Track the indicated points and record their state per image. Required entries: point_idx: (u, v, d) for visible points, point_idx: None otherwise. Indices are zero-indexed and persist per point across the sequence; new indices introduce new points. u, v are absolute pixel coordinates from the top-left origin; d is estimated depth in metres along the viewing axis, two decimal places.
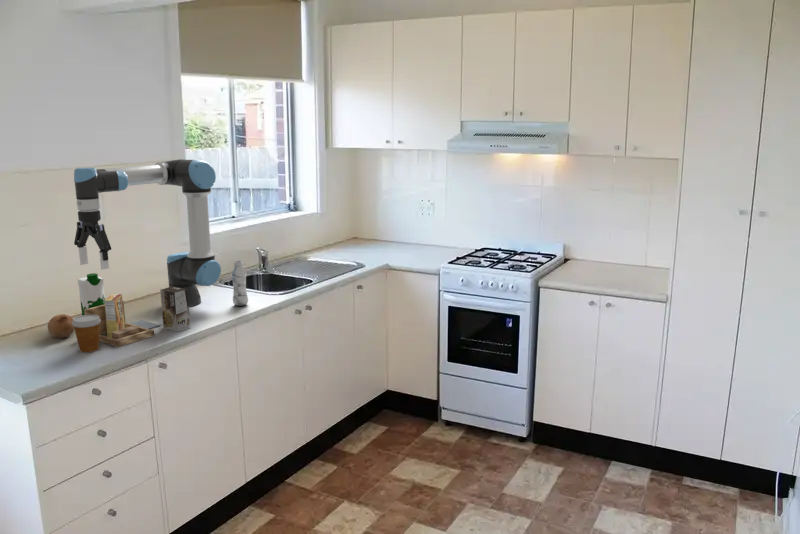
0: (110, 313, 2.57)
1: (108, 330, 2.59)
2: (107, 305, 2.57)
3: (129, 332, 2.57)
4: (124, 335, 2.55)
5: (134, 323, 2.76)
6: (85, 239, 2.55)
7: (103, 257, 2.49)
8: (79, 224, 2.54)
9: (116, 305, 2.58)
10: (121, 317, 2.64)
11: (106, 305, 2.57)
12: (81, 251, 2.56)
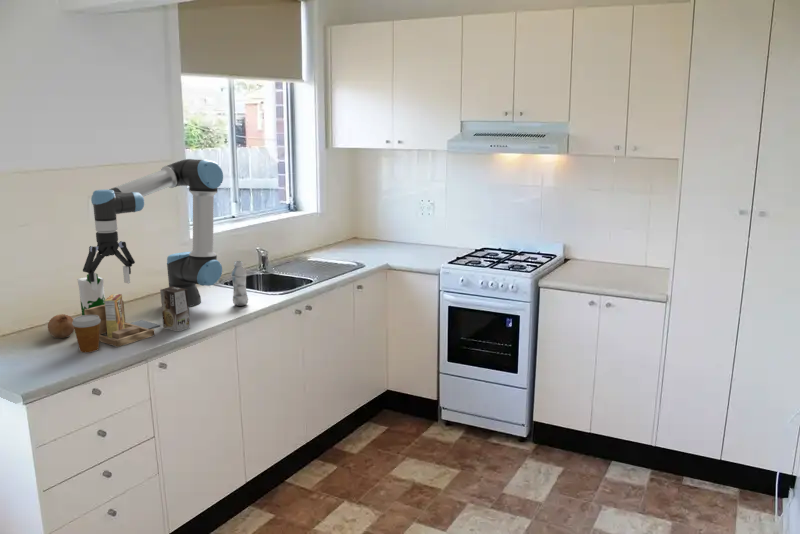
0: (110, 313, 2.57)
1: (108, 330, 2.59)
2: (107, 305, 2.57)
3: (129, 332, 2.57)
4: (124, 335, 2.55)
5: (134, 323, 2.76)
6: (120, 259, 2.61)
7: None
8: None
9: (116, 305, 2.58)
10: (121, 317, 2.64)
11: (106, 305, 2.57)
12: (124, 269, 2.64)
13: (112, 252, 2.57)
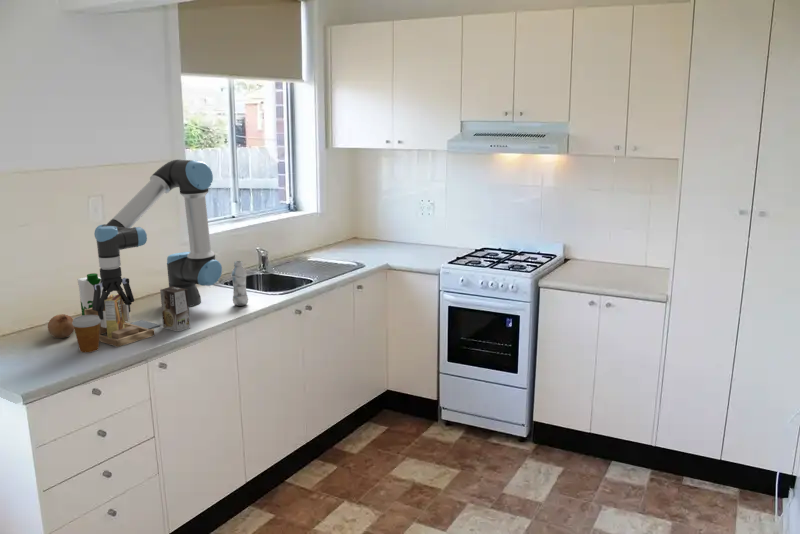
0: (110, 313, 2.57)
1: (108, 330, 2.59)
2: (107, 305, 2.57)
3: (129, 332, 2.57)
4: (124, 335, 2.55)
5: (134, 323, 2.76)
6: (121, 296, 2.63)
7: None
8: None
9: (116, 305, 2.58)
10: (121, 317, 2.64)
11: (106, 305, 2.57)
12: (123, 308, 2.66)
13: (116, 287, 2.60)
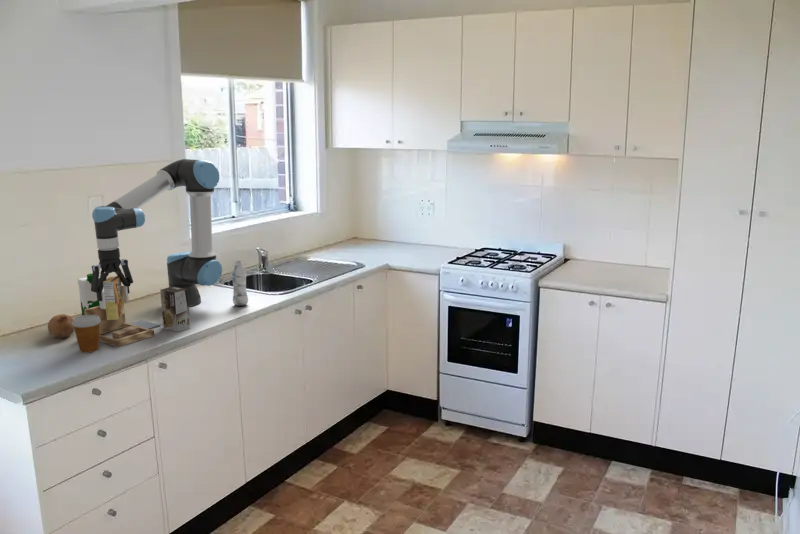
0: (109, 294, 2.56)
1: (107, 312, 2.58)
2: (106, 287, 2.55)
3: (129, 332, 2.57)
4: (125, 335, 2.55)
5: (134, 323, 2.76)
6: (120, 277, 2.62)
7: None
8: None
9: (115, 287, 2.57)
10: (120, 299, 2.62)
11: (105, 286, 2.55)
12: (122, 289, 2.65)
13: (114, 269, 2.58)
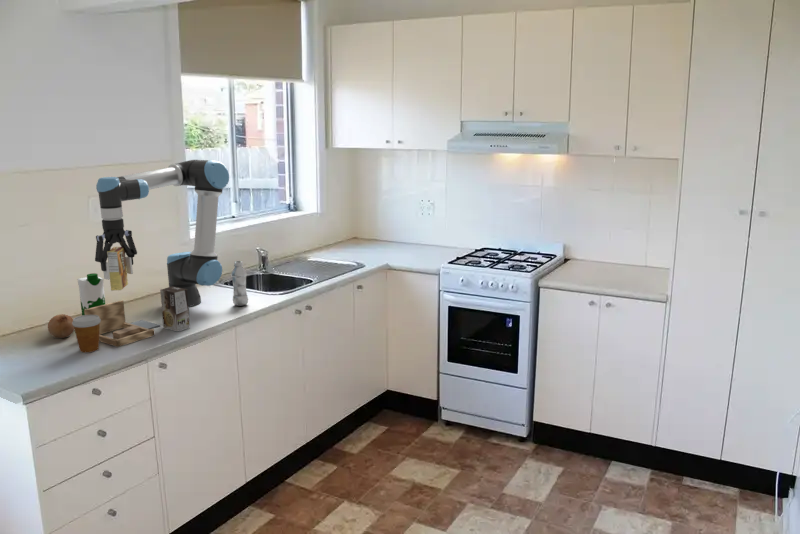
0: (113, 264, 2.56)
1: (111, 282, 2.58)
2: (110, 257, 2.55)
3: (130, 332, 2.57)
4: (125, 335, 2.55)
5: (134, 323, 2.76)
6: (124, 248, 2.62)
7: None
8: None
9: (119, 257, 2.57)
10: (124, 269, 2.63)
11: (109, 256, 2.55)
12: (126, 260, 2.65)
13: (118, 239, 2.59)
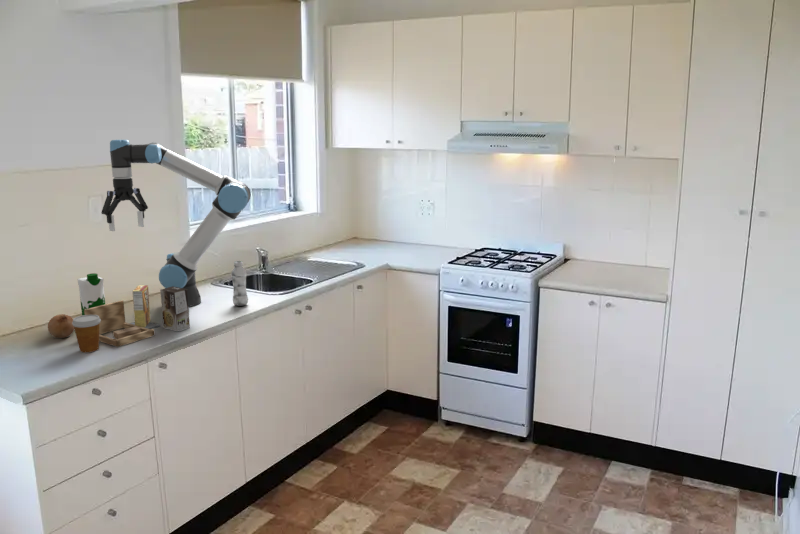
0: (138, 303, 2.68)
1: (136, 319, 2.70)
2: (135, 296, 2.68)
3: (130, 332, 2.57)
4: (124, 335, 2.55)
5: (134, 323, 2.76)
6: (135, 204, 2.86)
7: None
8: None
9: (144, 296, 2.69)
10: (147, 307, 2.75)
11: (134, 295, 2.68)
12: (138, 214, 2.89)
13: (127, 197, 2.82)
